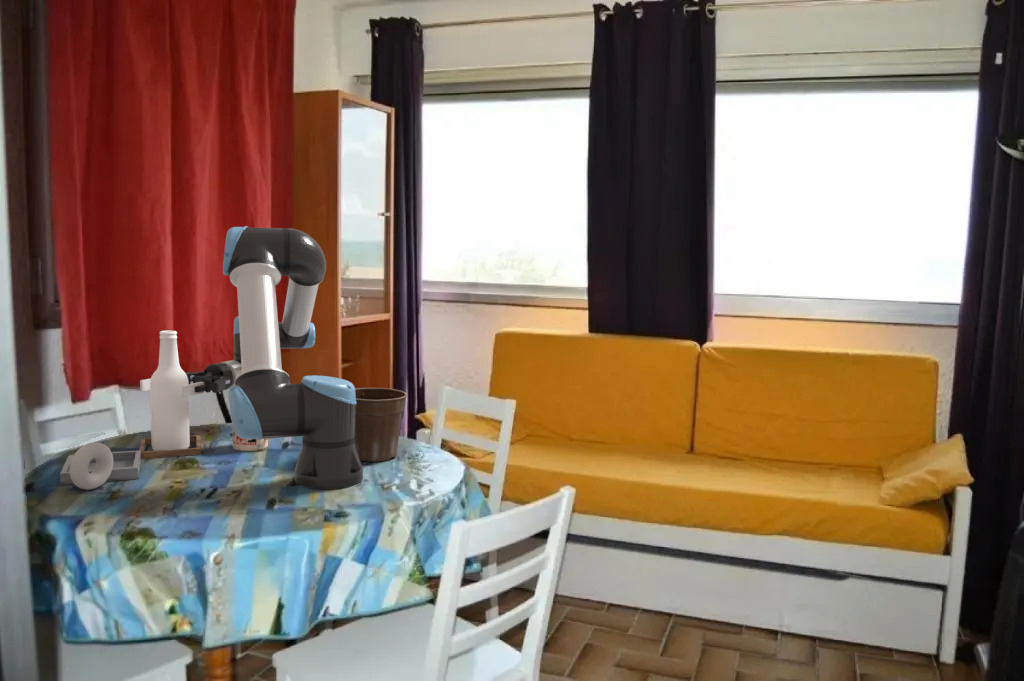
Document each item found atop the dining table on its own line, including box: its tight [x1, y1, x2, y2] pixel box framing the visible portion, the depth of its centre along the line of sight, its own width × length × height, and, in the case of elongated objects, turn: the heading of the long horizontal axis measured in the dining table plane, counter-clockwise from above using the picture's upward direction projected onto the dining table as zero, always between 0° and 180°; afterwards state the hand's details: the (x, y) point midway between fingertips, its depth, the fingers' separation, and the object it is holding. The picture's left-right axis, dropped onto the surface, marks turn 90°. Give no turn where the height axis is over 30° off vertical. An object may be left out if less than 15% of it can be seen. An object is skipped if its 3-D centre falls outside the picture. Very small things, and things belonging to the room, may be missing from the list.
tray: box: [59, 450, 142, 486], centre depth 175 cm, size 15×15×2 cm
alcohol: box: [149, 329, 191, 451], centre depth 194 cm, size 9×9×30 cm
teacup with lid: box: [231, 422, 274, 452], centre depth 199 cm, size 12×9×12 cm
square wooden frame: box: [139, 434, 203, 460], centre depth 196 cm, size 14×14×2 cm
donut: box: [69, 441, 113, 491], centre depth 164 cm, size 10×4×10 cm, turn 161°
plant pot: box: [355, 387, 408, 463], centre depth 195 cm, size 16×16×16 cm
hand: (161, 388), depth 191 cm, fingers open, 13 cm apart
